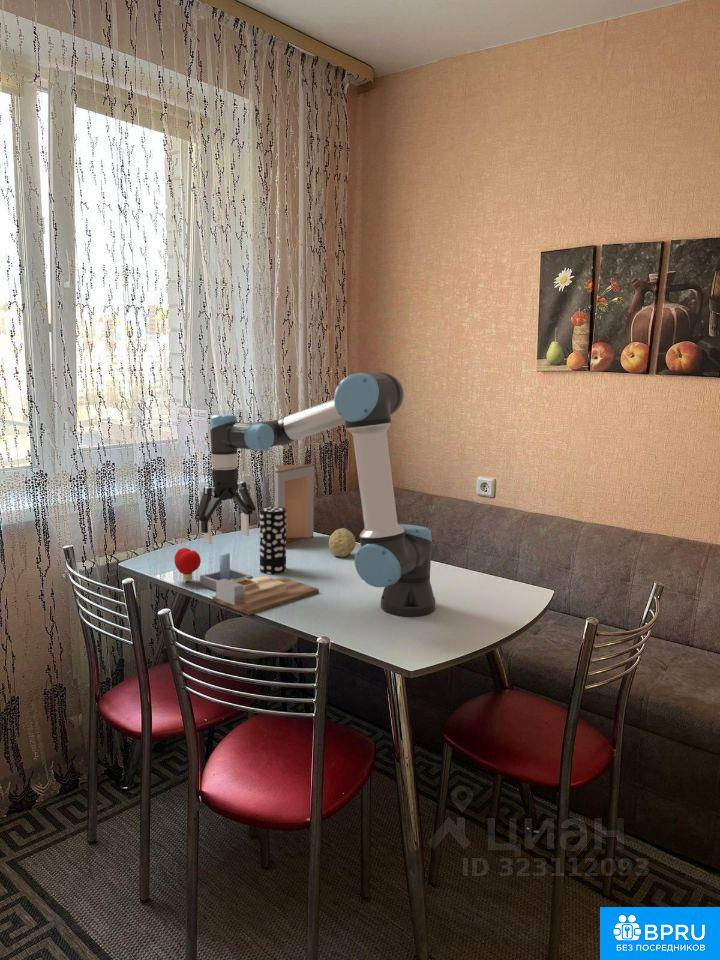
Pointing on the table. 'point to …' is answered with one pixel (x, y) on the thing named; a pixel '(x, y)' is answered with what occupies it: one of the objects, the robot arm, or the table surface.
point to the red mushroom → (187, 562)
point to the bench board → (273, 597)
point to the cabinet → (296, 500)
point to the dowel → (224, 566)
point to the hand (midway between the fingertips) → (226, 539)
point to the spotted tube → (273, 540)
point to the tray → (211, 578)
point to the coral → (342, 542)
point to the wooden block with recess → (260, 588)
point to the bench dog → (229, 591)
